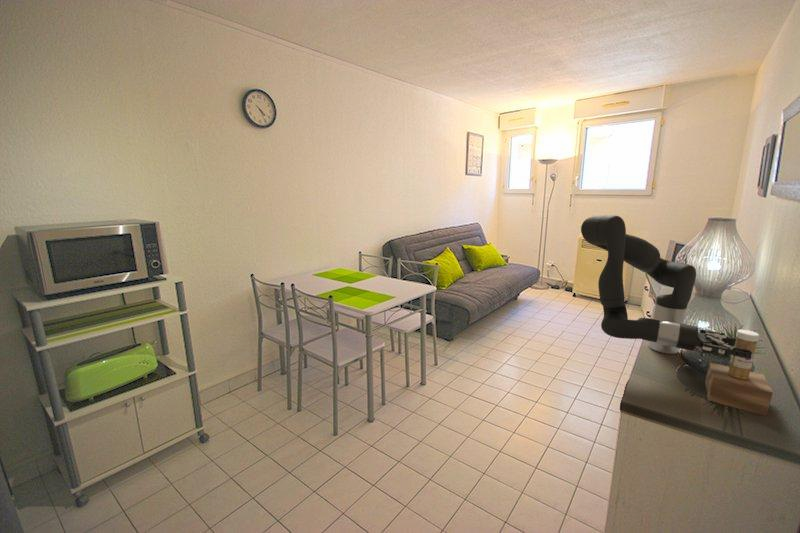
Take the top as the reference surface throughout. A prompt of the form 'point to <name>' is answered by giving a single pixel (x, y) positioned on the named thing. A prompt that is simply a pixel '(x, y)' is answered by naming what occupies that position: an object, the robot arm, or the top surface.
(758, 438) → the top surface
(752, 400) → the block
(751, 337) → the sprinkles bottle
